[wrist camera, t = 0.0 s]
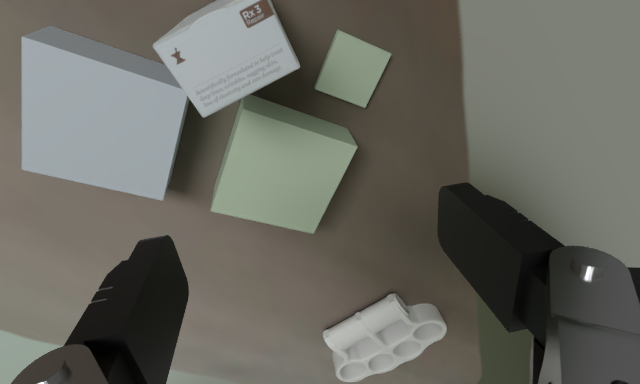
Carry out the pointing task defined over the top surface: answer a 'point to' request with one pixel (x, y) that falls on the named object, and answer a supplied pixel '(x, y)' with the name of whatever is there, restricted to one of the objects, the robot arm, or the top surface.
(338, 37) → the sage tile
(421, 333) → the white brass knuckles
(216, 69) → the skincare box
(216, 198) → the sage riser block
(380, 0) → the top surface
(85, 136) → the blue-grey riser block
